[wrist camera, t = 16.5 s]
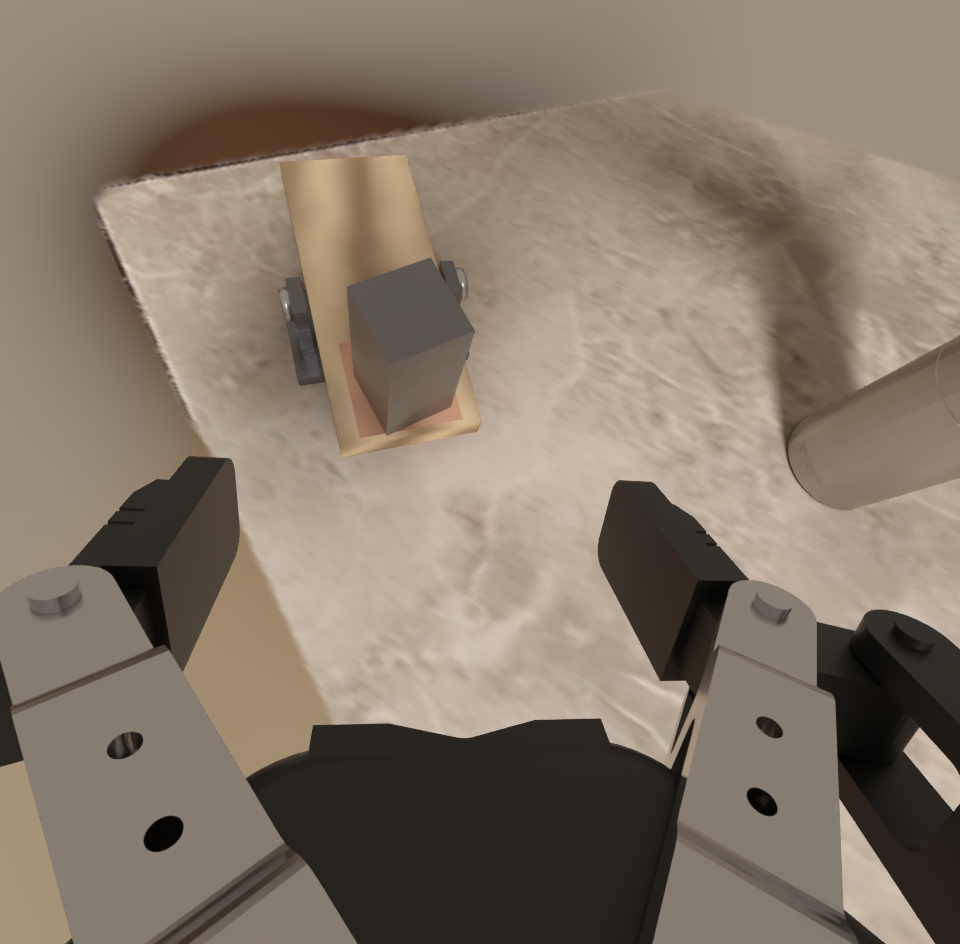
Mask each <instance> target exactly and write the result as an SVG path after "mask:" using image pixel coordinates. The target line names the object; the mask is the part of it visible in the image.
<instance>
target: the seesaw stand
mask: <svg viewBox="0 0 960 944" xmlns="http://www.w3.org/2000/svg"><path fill="white" fill-rule="evenodd" d="M439 272H440V273H441V275H442V277H443V278H444V280H445V282H446V283H447V285H448V287H449V288H450V290H451V292H452V293H453V295H454V297H455V298H456V300H457V302H458V303H459V305H460V302H461V300H466V298H467V293H468V286H467V279H466V274H465V272H464V270H463V268H456V269H455V266H454V263H453V261H444V262H440V267H439ZM285 280H286V285H287V287H286V288H278V289H279V295H280V300H281V305H282V309H283V313H284V317H285V321H286V322H287V327H288V332H289V337H290V342H291V347H292V352H293V357H294V362H295V367H296V372H297V378H298V382H299V385H300V386H301V385H307V384H313V383H320V382H326V381H325V376H324V371H323V366H322V362H321V357H320V352H319V348H318V343H317V338H316V334H315V329H314V324H313V319H312V315H311V310H310V305H309V301H308V296H307V291H306V290H302V287H301V282H300V277H296V278H287V279H285ZM468 356H469V351H468V354H467V357H466V360H467V359H468Z"/></svg>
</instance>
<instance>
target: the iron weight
mask: <svg viewBox="0 0 960 944" xmlns="http://www.w3.org/2000/svg"><path fill="white" fill-rule="evenodd" d="M347 299H348V311H349V323H350V336H351V348H352V361H353V373H354V377H355V379H356V380H357V382H358V384H359V386H360V388H361V390H362V392H363V393H364V395H365V397H366V399H367V401H368V403H369V404H370V406H371V408H372V410H373V412H374V414H375V416H376V417H377V419H378V421H379V423H380V425H381V427H382V429H383V430H384V432H385V434H386V436H388V435H390V434H392V433H394V432H396V431H399V430H401V429H403V428H405V427H408V426H410V425H412V424H414V423H417V422H419V421H421V420H423V419H426V418H428V417H430V416H432V415H434V414H437V413H439V412H441V411H443V410H446V409H448V408H450V407H451V405H452V401H453V398H454V395H455V392H456V389H457V386H458V383H459V379H460V376H461V373H462V370H463V367H464V364H465V360H466V357H467V354H468V351H469V348H470V345H471V341H472V338H473V335H474V332H475V330H474V329H473V327H472V325H471V324H470V322H469V320H468V319H467V317H466V315H465V314H464V312H463V310H462V309H461V307H460V305H459V303H458V302H457V300H456V298H455V297H454V295H453V293H452V292H451V290H450V288H449V287H448V285H447V283H446V282H445V280H444V278H443V277H442V275H441V273H440V272H439V270H438V268H437V267H436V265H435V263H434V262H433V260H432V258H431V257H430V258H427V259H425V260H422V261H419V262H416V263H413V264H410V265H407V266H404V267H402V268H399V269H396V270H393V271H390V272H387V273H384V274H381V275H379V276H376V277H373V278H370V279H367V280H364V281H361V282H358V283H356V284H353V285H350V286H347Z"/></svg>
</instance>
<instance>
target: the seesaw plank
mask: <svg viewBox="0 0 960 944" xmlns="http://www.w3.org/2000/svg"><path fill="white" fill-rule="evenodd" d="M279 163H280V168H281V173H282V178H283V183H284V187H285V192H286V197H287V202H288V206H289V211H290V216H291V220H292V225H293V230H294V235H295V239H296V244H297V249H298V253H299V258H300V263H301V268H302V272H303V277H304V282H305V286H306V291H307V296H308V301H309V305H310V310H311V315H312V319H313V324H314V329H315V334H316V338H317V343H318V348H319V352H320V357H321V362H322V366H323V371H324V376H325V381H326V385H327V390H328V395H329V399H330V404H331V409H332V414H333V418H334V423H335V428H336V432H337V437H338V442H339V447H340V451H341V456H342V457H346V456H352V455H357V454H362V453H367V452H373V451H378V450H383V449H388V448H394V447H399V446H404V445H409V444H415V443H420V442H425V441H431V440H436V439H441V438H446V437H452V436H457V435H462V434H467V433H473V432H477V431H478V429H479V427H480V425H481V423H482V419H481V416H480V412H479V409H478V405H477V402H476V398H475V395H474V391H473V388H472V384H471V381H470V377H469V374H468V370H467V367H466V363H465V364H464V367H463V370H462V373H461V376H460V379H459V383H458V386H457V389H456V392H455V395H454V398H453V401H452V405H451V407H450V408H448V409H446V410H443V411H441V412H439V413H437V414H434V415H432V416H430V417H428V418H426V419H423V420H421V421H419V422H417V423H414V424H412V425H410V426H408V427H405V428H403V429H401V430H399V431H396V432H394V433H392V434H390V435H388V436H386V434H385V432H384V430H383V429H382V427H381V425H380V423H379V421H378V419H377V417H376V416H375V414H374V412H373V410H372V408H371V406H370V404H369V403H368V401H367V399H366V397H365V395H364V393H363V392H362V390H361V388H360V386H359V384H358V382H357V380H356V379H355V377H354V373H353V361H352V348H351V336H350V323H349V311H348V299H347V286H350V285H353V284H356V283H358V282H361V281H364V280H367V279H370V278H373V277H376V276H379V275H381V274H384V273H387V272H390V271H393V270H396V269H399V268H402V267H404V266H407V265H410V264H413V263H416V262H419V261H422V260H425V259H427V258H430V257H431V258H432V260H433V262H434V263H435V265H436V267H437V268H438V265H437V262H436V258H435V255H434V251H433V248H432V244H431V241H430V237H429V234H428V230H427V227H426V223H425V220H424V216H423V213H422V209H421V206H420V202H419V199H418V195H417V192H416V188H415V185H414V181H413V178H412V174H411V171H410V167H409V164H408V160H407V157H406V155H396V156H378V157H361V158H343V159H326V160H308V161H291V162H279ZM438 270H439V269H438Z"/></svg>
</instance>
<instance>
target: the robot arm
mask: <svg viewBox="0 0 960 944" xmlns="http://www.w3.org/2000/svg"><path fill="white" fill-rule="evenodd" d="M788 454H789V461H790V464H791V467H792V470H793V472H794V474H795V476H796V478H797V480H798V481H799V483H800V484H801V485H802V487H803V488H804V489H805V490H806V491H807V492H808V493H809V494H810V495H811V496H812V497H813V498H815V499H816V500H818V501H819V502H821V503H822V504H825V505H827V506H829V507H832V508H836V509H841V510H850V509H855V508H858V507H861V506H865V505H868V504H872V503H875V502H879V501H882V500H886V499H889V498H893V497H897V496H900V495H904V494H907V493H910V492H914V491H917V490H921V489H924V488H927V487H931V486H934V485H938V484H941V483H944V482H948V481H951V480H955V479H958V478H960V335H959V336H957V337H955V338H954V339H952V340H950V341H948V342H947V343H945V344H943V345H941V346H939V347H937V348H936V349H934V350H932V351H930V352H928V353H926V354H924V355H923V356H921V357H919V358H917V359H915V360H913V361H911V362H910V363H908V364H906V365H904V366H902V367H900V368H898V369H897V370H895V371H893V372H891V373H889V374H887V375H885V376H884V377H882V378H880V379H878V380H876V381H874V382H872V383H871V384H869V385H867V386H865V387H863V388H861V389H859V390H858V391H856V392H854V393H852V394H850V395H848V396H846V397H845V398H843V399H841V400H839V401H837V402H835V403H833V404H831V405H830V406H828V407H826V408H824V409H822V410H820V411H819V412H817V413H815V414H813V415H811V416H809V417H807V418H806V419H804V420H802V421H801V422H800V423H799V424H797V425H796V426H795V428H794V430H793V431H792V433H791V436H790V439H789V444H788ZM239 532H240V527H239V514H238V503H237V491H236V480H235V469H234V464H233V462H232V460H231V459H230V458H214V457H194V456H189V457H188V458H186V460H185V461H184V462H183V463H182V465H181V466H180V467H179V468H178V469H177V471H176V472H175V474H173V476H172V477H171V478H170V479H169V480H161V479H157V480H155V481H153V482H151V483H150V484H148V485H146V486H144V487H142V488H140V489H139V490H137V491H135V492H133V494H131V496H130V497H129V498H128V499H127V500H126V501H125V502H124V504H123V505H122V506H121V507H120V510H119V511H116V512H115V514H114V515H113V516H112V517H111V518H110V519H109V520H108V524H107V525H104V526H103V527H102V528H101V529H100V531H99V532H98V533H97V534H96V535H95V536H94V537H93V539H92V540H91V541H90V542H89V543H88V544H87V545H86V546H85V548H84V549H83V550H82V551H81V552H80V553H79V554H78V555H77V557H76V558H75V559H74V560H73V561H72V562H71V563H70V564H69V566H64V567H57V568H52V569H48V570H44V571H41V572H38V573H35V574H32V575H30V576H27V577H25V578H23V579H21V580H19V581H17V582H15V583H13V584H12V585H10V586H9V587H7V588H6V589H4V590H3V591H2V592H1V593H0V767H1V766H5V765H9V764H12V763H16V762H19V761H23V760H24V762H25V766H26V770H27V773H28V777H29V781H30V785H31V788H32V792H33V795H34V799H35V803H36V807H37V810H38V814H39V818H40V821H41V825H42V829H43V833H44V836H45V840H46V844H47V847H48V851H49V855H50V858H51V862H52V865H53V869H54V873H55V876H56V881H57V884H58V888H59V892H60V895H61V899H62V902H63V906H64V910H65V914H66V917H67V921H68V925H69V929H70V932H71V936H72V938H71V939H70V940H69V941H68V942H67V943H66V944H885V943H884V942H883V941H881V940H880V939H879V938H878V937H877V936H875V935H874V934H873V933H872V932H870V931H869V930H868V929H867V928H866V927H864V926H863V925H862V924H861V923H859V922H858V921H857V920H856V919H855V918H853V917H852V916H851V915H850V914H849V913H847V912H846V911H845V910H844V908H843V888H842V862H841V837H840V811H839V799H840V800H841V802H842V803H843V805H844V806H845V808H846V809H847V811H848V812H849V814H850V815H851V817H852V818H853V820H854V821H855V823H856V824H857V826H858V827H859V829H860V830H861V832H862V833H863V835H864V836H865V838H866V839H867V841H868V842H869V844H870V845H871V847H872V849H873V850H874V852H875V853H876V855H877V856H878V858H879V859H880V861H881V862H882V864H883V865H884V867H885V868H886V870H887V871H888V873H889V874H890V876H891V877H892V879H893V880H894V882H895V883H896V885H897V886H898V888H899V889H900V891H901V892H902V894H903V896H904V897H905V899H906V900H907V902H908V903H909V905H910V906H911V908H912V909H913V911H914V912H915V914H916V915H917V917H918V918H919V920H920V921H921V923H922V924H923V926H924V927H925V929H926V930H927V932H928V933H929V935H930V936H931V938H932V939H933V941H934V943H935V944H960V805H959V806H958V807H957V808H956V809H955V811H954V812H953V811H952V809H951V808H950V807H949V806H948V805H947V803H946V802H945V801H944V800H943V799H942V797H941V796H940V795H939V794H938V792H937V791H936V790H935V789H934V788H933V786H932V785H931V784H930V783H929V782H928V780H927V779H926V778H925V777H924V776H923V774H922V773H921V772H920V771H919V770H918V768H917V767H916V766H915V765H914V764H913V762H912V761H911V760H910V759H909V758H908V756H907V755H906V754H905V753H904V752H903V750H904V748H905V747H906V746H907V744H908V743H909V741H910V740H911V738H912V737H913V736H914V734H915V733H916V731H917V730H918V729H919V727H920V728H921V729H922V730H923V731H924V732H925V733H926V734H927V735H928V737H929V738H930V739H931V740H932V741H933V742H934V743H935V744H936V745H937V747H938V748H939V749H940V750H941V751H942V752H943V753H944V754H945V755H946V757H947V758H948V759H949V760H950V761H951V762H952V764H953V765H954V766H955V768H956V769H957V771H958V773H959V775H960V649H959V648H958V647H957V646H955V645H954V644H953V643H952V642H951V641H950V640H948V639H947V638H946V637H945V636H943V635H942V634H941V633H939V632H938V631H936V630H935V629H933V628H931V627H930V626H928V625H926V624H924V623H922V622H920V621H918V620H916V619H914V618H912V617H909V616H906V615H904V614H900V613H897V612H893V611H888V610H872V611H869V612H867V613H866V614H865V615H864V617H863V619H862V620H861V622H860V624H859V626H858V627H857V629H856V631H853V630H849V629H845V628H840V627H836V626H832V625H828V624H823V623H819V622H816V618H815V616H814V614H813V612H812V611H811V610H810V608H809V607H808V606H807V605H806V604H805V603H803V602H802V601H801V600H800V599H798V598H797V597H796V596H794V595H792V594H791V593H789V592H787V591H785V590H783V589H781V588H779V587H776V586H774V585H771V584H768V583H764V582H760V581H754V580H749V579H748V578H747V577H746V576H745V575H744V574H743V573H742V571H741V570H740V569H739V568H738V567H737V566H736V565H735V563H734V562H733V561H732V560H731V559H730V558H729V557H728V556H727V554H726V553H725V552H724V551H723V550H722V549H721V548H720V547H719V546H717V543H716V542H715V541H714V540H713V539H712V537H711V536H710V535H709V534H706V531H705V530H704V528H703V527H702V526H701V525H700V524H699V523H698V522H697V521H696V519H695V518H694V517H692V516H691V515H689V514H688V513H686V512H685V511H683V510H682V509H680V508H679V507H677V506H676V505H674V504H671V502H670V501H669V500H668V499H667V498H666V497H665V495H664V494H663V493H662V492H661V491H660V490H659V488H658V487H657V486H656V485H655V484H654V483H653V482H643V481H624V480H619V481H617V482H616V483H615V485H614V487H613V489H612V492H611V496H610V499H609V503H608V507H607V511H606V515H605V518H604V522H603V526H602V530H601V533H600V537H599V542H598V558H599V563H600V566H601V568H602V570H603V572H604V574H605V576H606V578H607V580H608V582H609V584H610V586H611V587H612V589H613V591H614V593H615V595H616V597H617V599H618V601H619V603H620V605H621V607H622V608H623V610H624V612H625V614H626V616H627V618H628V620H629V622H630V624H631V626H632V628H633V630H634V631H635V633H636V635H637V637H638V639H639V641H640V643H641V645H642V647H643V649H644V651H645V652H646V654H647V656H648V658H649V660H650V662H651V664H652V666H653V668H654V670H655V672H656V674H657V675H658V677H659V679H660V681H686V682H687V683H688V685H689V688H688V690H687V693H686V695H685V698H684V700H683V703H682V707H681V710H680V714H679V717H678V720H677V724H676V727H675V731H674V734H673V737H672V741H671V744H670V747H669V751H668V754H667V758H666V761H665V764H662V763H660V762H658V761H656V760H655V759H653V758H651V757H649V756H647V755H645V754H642V753H640V752H638V751H635V750H633V749H630V748H627V747H624V746H621V745H618V744H614V743H610V742H609V740H608V737H607V734H606V732H605V729H604V726H603V724H602V721H601V719H561V720H533V721H530V722H526V723H522V724H519V725H515V726H512V727H508V728H504V729H501V730H497V731H494V732H490V733H486V734H483V735H479V736H476V737H472V738H456V737H451V736H446V735H442V734H437V733H432V732H427V731H422V730H417V729H413V728H408V727H403V726H398V725H393V724H348V725H313V729H312V735H311V741H310V747H309V750H308V751H305V752H302V753H298V754H294V755H292V756H289V757H287V758H284V759H281V760H279V761H276V762H274V763H272V764H270V765H268V766H266V767H264V768H262V769H260V770H258V771H257V772H255V773H253V774H252V775H250V776H249V777H247V778H245V776H244V775H243V773H242V771H241V770H240V768H239V766H238V765H237V763H236V761H235V760H234V758H233V756H232V755H231V753H230V751H229V750H228V748H227V746H226V745H225V743H224V741H223V740H222V738H221V737H220V735H219V733H218V731H217V730H216V728H215V726H214V725H213V723H212V721H211V720H210V718H209V716H208V714H207V713H206V711H205V709H204V708H203V706H202V704H201V703H200V701H199V699H198V698H197V696H196V694H195V693H194V691H193V689H192V688H191V686H190V684H189V682H188V681H187V679H186V677H185V676H184V674H183V670H184V668H185V666H186V664H187V662H188V659H189V657H190V655H191V653H192V651H193V649H194V646H195V644H196V642H197V640H198V637H199V635H200V633H201V631H202V629H203V627H204V624H205V622H206V620H207V618H208V616H209V613H210V611H211V609H212V607H213V604H214V602H215V600H216V598H217V596H218V593H219V591H220V589H221V587H222V585H223V583H224V580H225V578H226V576H227V574H228V572H229V569H230V567H231V565H232V563H233V561H234V558H235V556H236V553H237V549H238V543H239Z"/></svg>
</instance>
